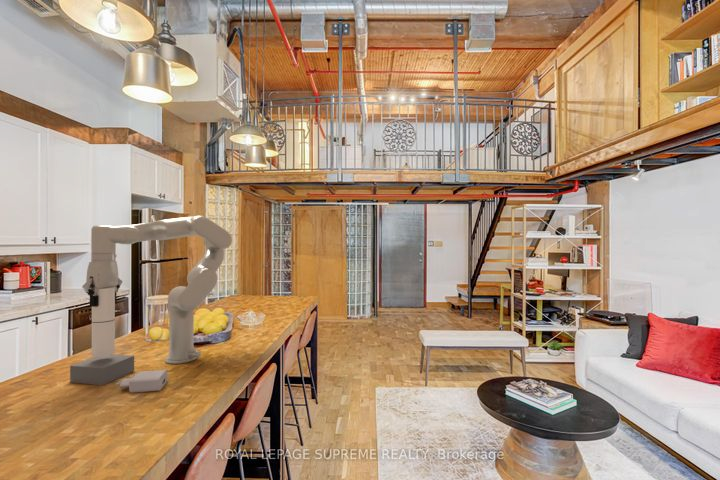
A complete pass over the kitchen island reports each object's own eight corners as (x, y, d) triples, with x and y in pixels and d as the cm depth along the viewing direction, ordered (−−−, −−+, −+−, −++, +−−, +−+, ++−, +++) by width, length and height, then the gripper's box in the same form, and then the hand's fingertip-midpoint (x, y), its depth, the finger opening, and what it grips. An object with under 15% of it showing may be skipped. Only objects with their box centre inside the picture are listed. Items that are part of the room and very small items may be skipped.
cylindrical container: (89, 357, 132) (90, 289, 132) (93, 352, 138) (93, 287, 138) (113, 354, 135) (113, 288, 135) (115, 349, 142) (116, 286, 142)
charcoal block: (134, 371, 143) (134, 355, 143) (103, 385, 129) (103, 368, 129) (103, 368, 145) (103, 353, 145) (70, 382, 131) (70, 365, 131)
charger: (122, 385, 130) (167, 381, 133) (110, 395, 121) (159, 391, 124) (122, 371, 130) (167, 368, 133) (110, 381, 121) (159, 378, 124)
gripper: (114, 256, 146) (114, 300, 146) (73, 258, 129) (73, 308, 129) (130, 256, 145) (130, 301, 145) (91, 259, 128) (90, 309, 128)
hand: (103, 304), depth 137 cm, fingers closed on cylindrical container, 7 cm apart
